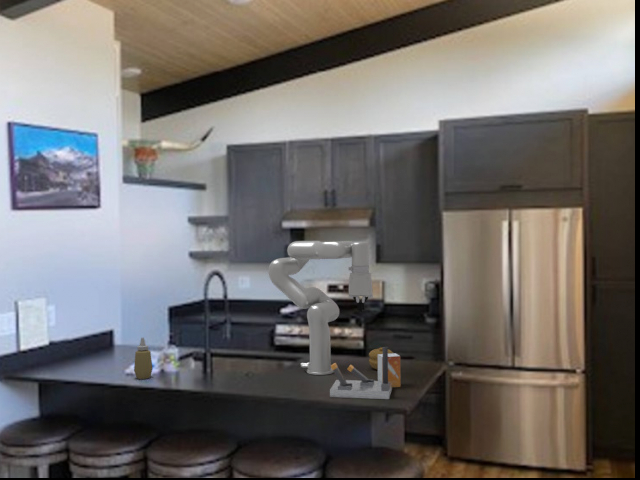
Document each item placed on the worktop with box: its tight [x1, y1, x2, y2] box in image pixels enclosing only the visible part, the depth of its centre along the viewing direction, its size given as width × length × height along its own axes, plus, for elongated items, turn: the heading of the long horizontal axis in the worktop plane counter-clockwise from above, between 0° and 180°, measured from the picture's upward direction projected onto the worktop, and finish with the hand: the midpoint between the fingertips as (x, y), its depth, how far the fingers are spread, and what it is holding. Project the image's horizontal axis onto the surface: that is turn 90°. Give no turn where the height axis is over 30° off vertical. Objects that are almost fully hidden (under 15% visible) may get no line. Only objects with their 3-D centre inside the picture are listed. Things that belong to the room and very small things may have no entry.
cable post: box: [381, 346, 390, 390], centre depth 255 cm, size 3×3×16 cm
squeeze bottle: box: [133, 337, 153, 380], centre depth 294 cm, size 8×8×18 cm
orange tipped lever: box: [331, 362, 347, 386], centre depth 259 cm, size 2×3×9 cm, turn 169°
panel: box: [329, 379, 393, 400], centre depth 262 cm, size 23×16×4 cm
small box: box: [377, 352, 402, 388], centre depth 273 cm, size 8×6×13 cm
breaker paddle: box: [347, 364, 369, 382], centre depth 265 cm, size 2×3×9 cm
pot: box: [368, 347, 394, 370], centre depth 305 cm, size 12×12×10 cm
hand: (361, 311), depth 288 cm, fingers closed
